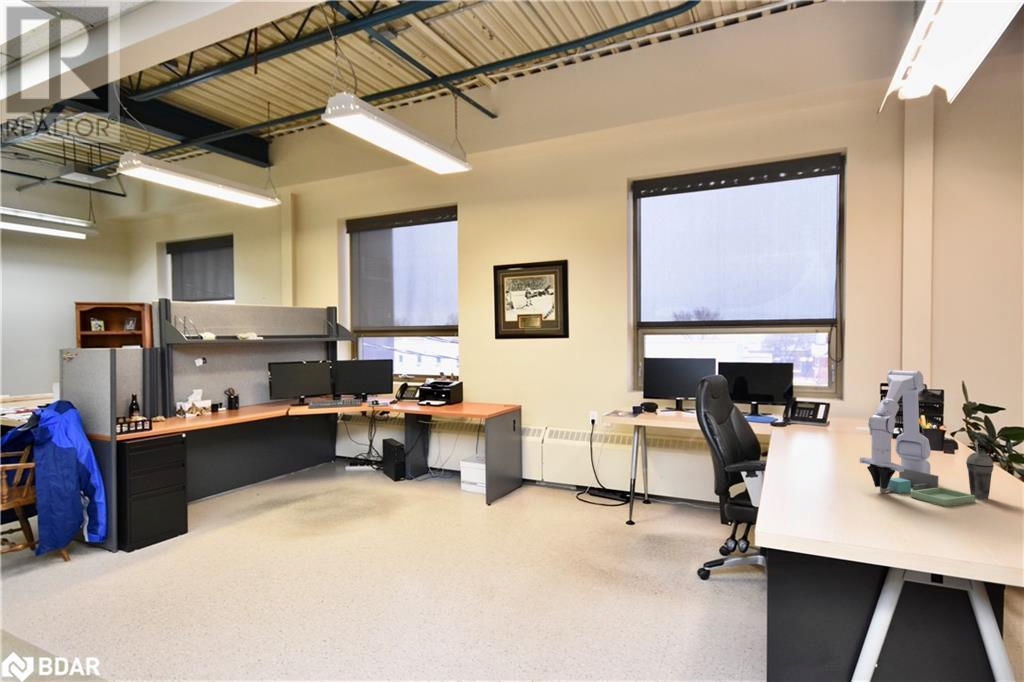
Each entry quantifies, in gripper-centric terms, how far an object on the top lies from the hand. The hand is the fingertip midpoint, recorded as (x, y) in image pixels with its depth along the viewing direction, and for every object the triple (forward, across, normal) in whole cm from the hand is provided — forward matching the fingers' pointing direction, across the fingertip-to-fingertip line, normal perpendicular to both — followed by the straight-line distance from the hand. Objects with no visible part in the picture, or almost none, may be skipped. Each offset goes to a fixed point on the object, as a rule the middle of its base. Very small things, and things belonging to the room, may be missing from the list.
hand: (881, 487), depth 187 cm
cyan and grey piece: (+2, 0, +6) cm, 6 cm away
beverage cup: (+2, +15, +27) cm, 31 cm away
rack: (+2, 0, +16) cm, 16 cm away
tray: (+2, +12, +12) cm, 17 cm away
